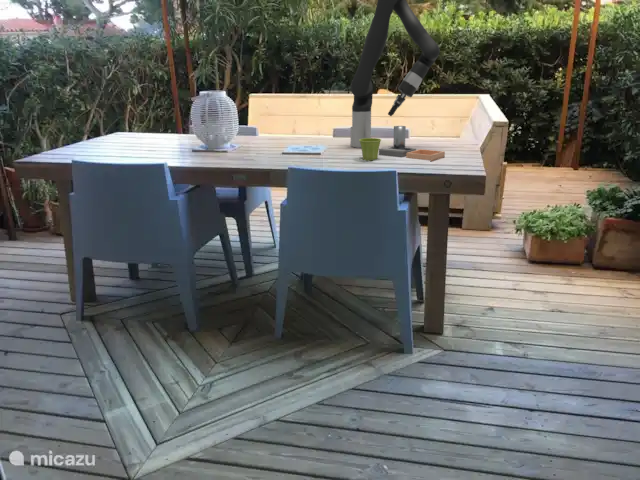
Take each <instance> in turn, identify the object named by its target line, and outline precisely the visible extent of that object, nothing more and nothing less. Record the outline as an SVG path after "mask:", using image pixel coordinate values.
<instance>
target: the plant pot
mask: <svg viewBox="0 0 640 480" xmlns="http://www.w3.org/2000/svg"><path fill="white" fill-rule="evenodd" d="M359 141H360V144H361V148H360V149H361V154H362V160H363V161H367V162H372V161H374V160H377V159H378V157H379V149H380V144H381V142H382V139H381V138H378V137H376V138H375V137H371V138H364V139H360V140H359Z"/></svg>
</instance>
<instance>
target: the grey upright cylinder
mask: <svg viewBox="0 0 640 480" xmlns="http://www.w3.org/2000/svg"><path fill="white" fill-rule="evenodd" d="M406 128H407V126H405V125H394V126H393V146H392V147H393V149H401V150H405V148H406V134H407V133H406V131H407V130H406Z"/></svg>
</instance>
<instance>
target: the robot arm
mask: <svg viewBox="0 0 640 480" xmlns="http://www.w3.org/2000/svg"><path fill="white" fill-rule="evenodd" d="M393 11H394V12H395V14H396V15H397V16H398V18H399V19H400V21H401V23H402V25H403V27H404V29H405V30H406V33H407V34H408V35H409V38H411V40H412V41H413V43H414V44H415V45H417V46H418V47H419V49H420V50H421V51H422V52H421V54H420V56H418V59H417V61H415V63H414V64H413V65H412V67H411V68H410V70H409V72H408V73H407V74H406V75H405V77H404V78H403V80H402V82H401V83H400V84H399V85H398V87H397V89H398V91H399V92H400V93H398V94H397V96H396V97H395V99H394V101H393V104H392V106H391V108H390V109H389V111H388V113H387V115H388V116H389V117H392V116H394V115H395V114H396V113H395V112H397V110H398V109H399V108H400V107H401V106H402V105H403V103H404V102H405V101H406V97H408V98H412V97H413V96H414V94H415V92H416V91H417V89H418V88H419V86H420V85H421V83H422V82H423V80H424V78H425V76H426V75H427V74H428V72H429V69H431V67H432V65H433V64H434V63H435V62H436V60H437V59H438V57H439V55H440V54H441V53H440V51H441V50H440V47H439V45H438V43H437V42H436V41H435V40H434V39H433V38H432V36H431V35H430V34H429V33H428V31H427V29H426V28H425V27H424V25H423V24H422V23H421V21H420V20H419V18H418V17H417V16H416V14H415V12H413V10H412V9H411V7H410V5H409V3H408V1H407V0H377V3H376V7H375V11H374V15H373V18H372V21H371V23H370V26H369V29H368V33H367V35H366V38H365V41H364V44H363V49H362V52H361V55H360V60H359V64H358V66H357V69H356V71H355V74H354V76H353V78H352V80H351V82H350V83H351V84H350V91H351V94H353V103H352V107H351V110H352V112H351V117H352V119H351V120H352V121H351V125H352V126H351V127H350V147H353V148H359V149H362V148H361V144H360V141H359V140H360V139H364V138H372V107H373V106H372V105H373V96H374V95H373V93H374V90H373V89H374V88H373V87H374V86H373V82H372V76H373V72H374V70H375V67H376V66H377V63H378V62H379V60H380V58H381V56H382V53H383V51H384V49H385V46H386V44H387V40H388V35H389V30H390V29H389V28H390V19H391V16H392V13H393Z"/></svg>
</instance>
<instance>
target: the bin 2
mask: <svg viewBox="0 0 640 480" xmlns="http://www.w3.org/2000/svg"><path fill="white" fill-rule="evenodd" d="M445 152H446V151H443V150H432V149H431V150H430V149H422V148H420V149H416V150H415V151H412V152H408V153H406V156H405V158H407V159H416V160H424V161H430V162H431V163H432V162H435V161H438V160H441V159H443V158H445V155H446V153H445Z"/></svg>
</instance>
